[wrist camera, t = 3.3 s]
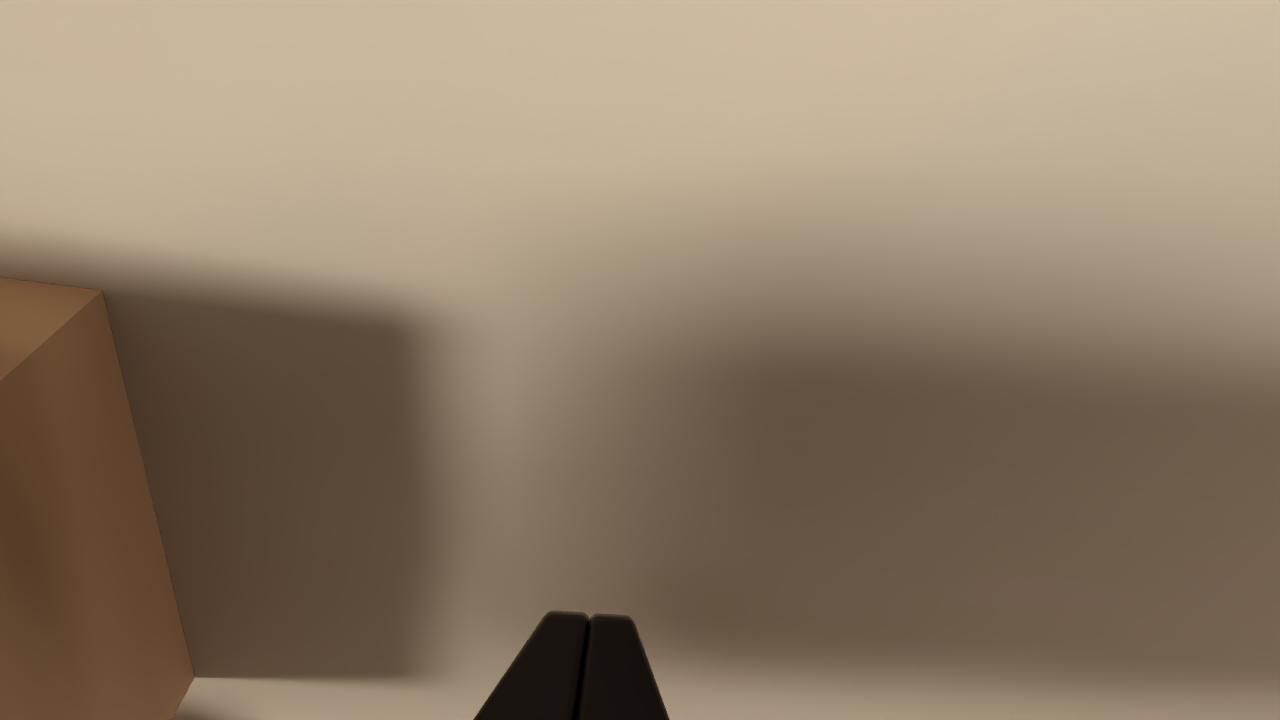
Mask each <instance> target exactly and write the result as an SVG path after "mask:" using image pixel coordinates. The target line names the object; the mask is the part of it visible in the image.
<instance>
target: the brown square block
mask: <svg viewBox="0 0 1280 720" xmlns="http://www.w3.org/2000/svg"><path fill="white" fill-rule="evenodd" d="M193 679H194V673H193V669H192V665H191V661H190V657H189V653H188V648H187V644H186V640H185V636H184V632H183V627H182V623H181V619H180V615H179V611H178V606H177V602H176V598H175V594H174V590H173V586H172V581H171V577H170V573H169V569H168V565H167V560H166V556H165V552H164V548H163V544H162V539H161V535H160V531H159V527H158V523H157V518H156V514H155V510H154V506H153V502H152V498H151V493H150V489H149V485H148V481H147V477H146V472H145V468H144V464H143V460H142V456H141V451H140V447H139V443H138V439H137V435H136V430H135V426H134V422H133V418H132V414H131V410H130V405H129V401H128V397H127V393H126V389H125V384H124V380H123V376H122V372H121V368H120V363H119V359H118V355H117V351H116V347H115V342H114V338H113V334H112V330H111V326H110V322H109V317H108V313H107V309H106V305H105V301H104V296H103V292H102V290H95V289H87V288H79V287H71V286H63V285H56V284H48V283H40V282H32V281H25V280H17V279H9V278H1V277H0V720H171V719H172V717H173V716H174V714H175V712H176V710H177V708H178V706H179V705H180V703H181V701H182V699H183V697H184V695H185V694H186V692H187V690H188V688H189V686H190V685H191V683H192V681H193Z"/></svg>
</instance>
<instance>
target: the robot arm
mask: <svg viewBox="0 0 1280 720" xmlns="http://www.w3.org/2000/svg"><path fill="white" fill-rule="evenodd" d="M473 720H669V717H668V714H667V711H666V708H665V706H664V703H663V700H662V697H661V695H660V692H659V689H658V686H657V684H656V681H655V678H654V675H653V672H652V670H651V667H650V664H649V661H648V659H647V656H646V653H645V650H644V648H643V645H642V642H641V639H640V637H639V634H638V631H637V628H636V626H635V623H634V621H633V620H632V619H631V618H630V617H629V616H625V615H611V614H595V615H593V616H592V617H591V619H590V621H589V617H588V616H587V615H586V614H585V613H582V612H568V611H550V612H548V613H547V614H546V615H545V616H544V617H543V619H542V620H541V621H540V623H539V624H538V626H537V627H536V629H535V630H534V632H533V633H532V634H531V636H530V637H529V639H528V640H527V642H526V643H525V645H524V646H523V648H522V649H521V651H520V652H519V654H518V655H517V656H516V658H515V659H514V661H513V662H512V664H511V665H510V667H509V668H508V670H507V671H506V673H505V674H504V676H503V677H502V678H501V680H500V681H499V683H498V684H497V686H496V687H495V689H494V690H493V692H492V693H491V695H490V696H489V697H488V699H487V700H486V702H485V703H484V705H483V706H482V708H481V709H480V711H479V712H478V714H477V715H476V717H475V718H474V719H473Z"/></svg>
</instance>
